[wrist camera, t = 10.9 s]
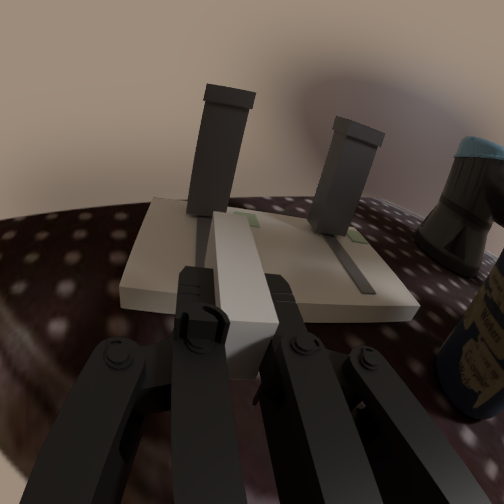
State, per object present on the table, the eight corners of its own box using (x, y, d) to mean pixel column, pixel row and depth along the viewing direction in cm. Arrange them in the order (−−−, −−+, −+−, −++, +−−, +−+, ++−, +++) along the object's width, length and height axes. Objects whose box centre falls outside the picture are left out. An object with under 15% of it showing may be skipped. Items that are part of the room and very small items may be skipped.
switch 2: (335, 224, 35) (368, 127, 29) (347, 238, 32) (385, 133, 26) (304, 218, 34) (336, 115, 28) (314, 232, 31) (350, 120, 25)
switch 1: (225, 206, 32) (250, 92, 25) (227, 220, 29) (256, 92, 22) (185, 200, 31) (206, 84, 24) (183, 214, 28) (206, 83, 21)
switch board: (349, 240, 38) (355, 226, 37) (410, 320, 25) (421, 304, 24) (152, 213, 32) (153, 195, 31) (120, 307, 18) (118, 283, 17)
